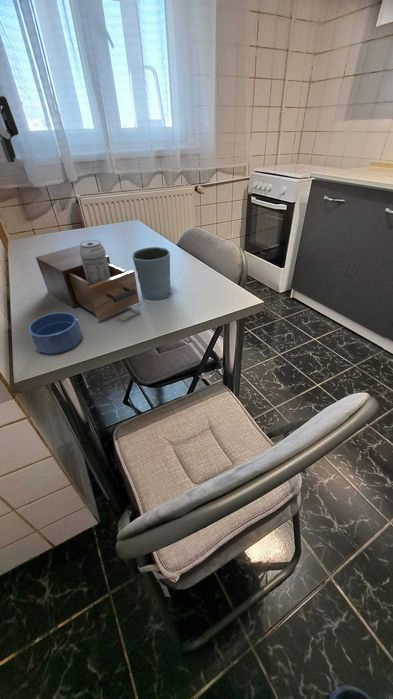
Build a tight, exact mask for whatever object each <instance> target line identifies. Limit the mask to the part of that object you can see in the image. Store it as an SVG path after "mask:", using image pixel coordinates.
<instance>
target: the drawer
mask: <svg viewBox="0 0 393 699" xmlns="http://www.w3.org/2000/svg"><path fill="white" fill-rule="evenodd" d="M108 267H109V272H110V277H111V278H109V279H106V280H104V281H101V282H98V283H95V284H93V285H91V283H90V282H88V281H87V279H86V275H85V271H84V268H82V269H78V270H75V271H72V272H69V273H66V274H67V277H68V281H69V284H70V287H71V291H72V294H73V297H74V300H75V302H77V303H79V304H80V305H82V306H81V307H83V308H85V309H87V310H89V311H90V312H92V313H93V314H95V318H96V319H97V320H98V321H101V320H103V319H105V318H108V317H110V316H112V315H115V314H116V313H119V312H121V311H123V310H125V309H128V308H129V307H132V306H134V305H136V304H138V303H140V298H139V293H138V286H137V279H136V278H137V277H136V273H135V270H129V271H127V270H125V269H123V268H121V267H118V266H116V265H115V264H114V265H113V264H111V263H110V264H109V263H108Z"/></svg>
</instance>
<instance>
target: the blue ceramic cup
mask: <svg viewBox="0 0 393 699" xmlns="http://www.w3.org/2000/svg"><path fill="white" fill-rule="evenodd" d="M131 257H132V261H133V264H134V268H135V271H136V274H137V279H138V280H137V281H138V283H139V286H140V287H139V288H140V292H141V296H142V297H143V298H145V299H147V300H154V301H156V300H157V301H158V300H163V299H165V298H167V297H169V296H170V295H171V290H172V289H171V252H170V249H167V248H165V247H160V246H153V247H151V246H150V247H145V248H140V249H138V250H136V251H134V252H133V253H132V255H131Z"/></svg>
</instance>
